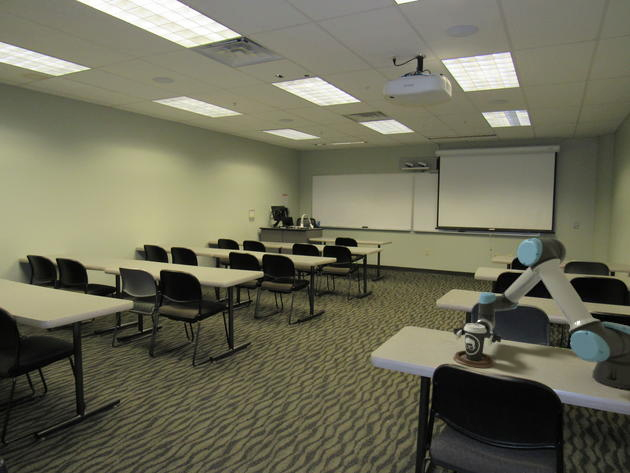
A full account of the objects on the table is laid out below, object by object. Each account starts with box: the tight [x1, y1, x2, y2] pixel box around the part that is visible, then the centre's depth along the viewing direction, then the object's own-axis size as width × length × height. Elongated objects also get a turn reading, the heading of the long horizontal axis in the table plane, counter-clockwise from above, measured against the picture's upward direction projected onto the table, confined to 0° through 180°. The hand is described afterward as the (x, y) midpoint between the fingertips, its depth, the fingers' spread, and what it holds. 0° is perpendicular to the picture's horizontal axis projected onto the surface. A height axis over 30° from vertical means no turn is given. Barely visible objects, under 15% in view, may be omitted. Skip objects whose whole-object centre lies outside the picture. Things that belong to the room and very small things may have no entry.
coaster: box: [453, 350, 495, 369], centre depth 179 cm, size 17×17×2 cm
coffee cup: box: [463, 322, 487, 361], centre depth 179 cm, size 10×10×15 cm
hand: (473, 339), depth 176 cm, fingers open, 13 cm apart
